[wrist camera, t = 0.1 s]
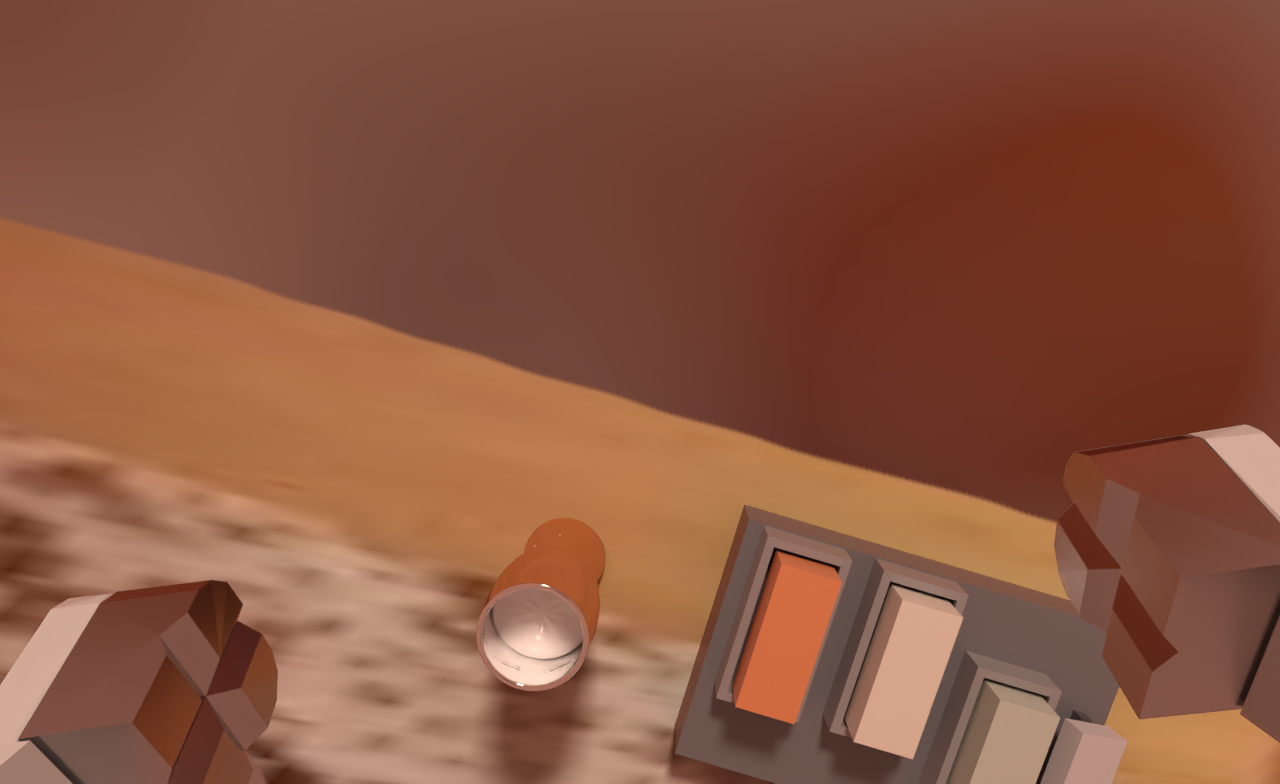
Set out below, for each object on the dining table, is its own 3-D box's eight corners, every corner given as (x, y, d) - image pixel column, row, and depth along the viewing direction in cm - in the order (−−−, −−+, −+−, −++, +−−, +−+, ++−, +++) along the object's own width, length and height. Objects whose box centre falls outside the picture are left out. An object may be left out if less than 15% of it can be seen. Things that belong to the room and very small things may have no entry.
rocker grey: (1108, 726, 59) (1127, 741, 58) (1068, 829, 60) (1086, 847, 59) (1065, 718, 58) (1083, 733, 57) (1025, 823, 59) (1041, 841, 58)
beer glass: (630, 559, 65) (617, 641, 50) (564, 620, 65) (531, 718, 50) (565, 492, 64) (533, 555, 49) (499, 554, 65) (447, 634, 50)
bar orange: (833, 566, 58) (842, 582, 55) (788, 702, 59) (794, 724, 56) (776, 549, 58) (781, 564, 55) (732, 685, 59) (735, 707, 56)
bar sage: (1040, 695, 58) (1060, 717, 55) (991, 827, 60) (1008, 855, 57) (983, 679, 58) (1000, 700, 55) (935, 810, 60) (949, 838, 57)
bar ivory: (948, 600, 58) (963, 617, 55) (900, 735, 59) (912, 759, 56) (890, 583, 58) (902, 599, 55) (844, 718, 59) (853, 741, 56)
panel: (1110, 612, 64) (1160, 650, 57) (1027, 829, 66) (1066, 889, 59) (744, 504, 64) (752, 529, 57) (675, 725, 66) (674, 774, 59)
